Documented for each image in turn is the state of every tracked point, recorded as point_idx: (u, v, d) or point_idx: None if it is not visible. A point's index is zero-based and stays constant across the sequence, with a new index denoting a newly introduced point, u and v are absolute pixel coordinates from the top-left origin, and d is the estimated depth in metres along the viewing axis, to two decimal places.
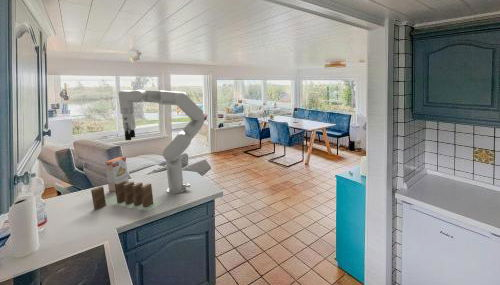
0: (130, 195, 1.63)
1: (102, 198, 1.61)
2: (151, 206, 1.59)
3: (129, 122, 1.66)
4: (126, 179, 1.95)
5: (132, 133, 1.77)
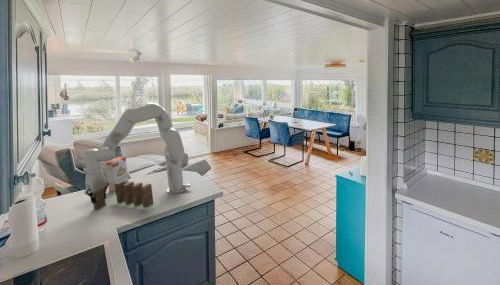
0: (130, 195, 1.63)
1: (102, 198, 1.61)
2: (151, 206, 1.59)
3: None
4: (126, 179, 1.95)
5: None
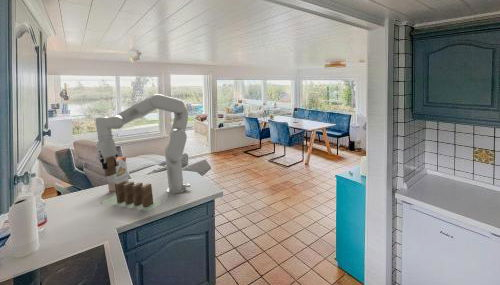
0: (130, 195, 1.63)
1: (113, 165, 1.67)
2: (151, 206, 1.59)
3: None
4: (126, 179, 1.95)
5: None
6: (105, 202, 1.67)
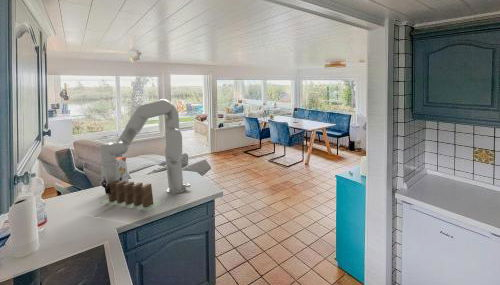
0: (130, 195, 1.63)
1: None
2: (151, 206, 1.59)
3: None
4: (126, 179, 1.95)
5: None
6: (105, 202, 1.67)
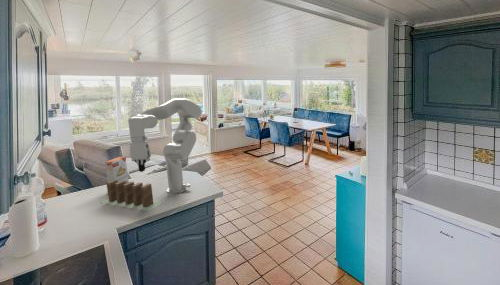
0: (130, 195, 1.63)
1: None
2: (151, 206, 1.59)
3: (149, 149, 1.56)
4: (126, 179, 1.95)
5: None
6: (105, 202, 1.67)
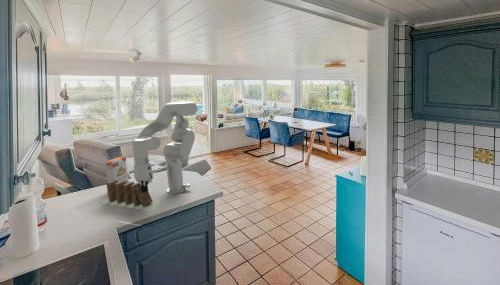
0: (130, 195, 1.63)
1: None
2: (151, 206, 1.59)
3: (151, 171, 1.57)
4: (126, 179, 1.95)
5: None
6: (105, 202, 1.67)
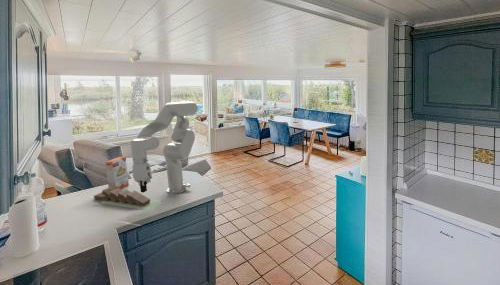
0: None
1: None
2: (151, 206, 1.59)
3: (150, 171, 1.58)
4: (126, 179, 1.95)
5: None
6: (105, 202, 1.67)
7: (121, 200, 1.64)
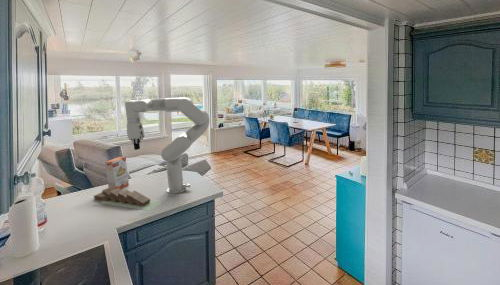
0: None
1: None
2: (151, 206, 1.59)
3: (143, 130, 1.75)
4: (126, 179, 1.95)
5: None
6: (105, 202, 1.67)
7: (121, 200, 1.64)
